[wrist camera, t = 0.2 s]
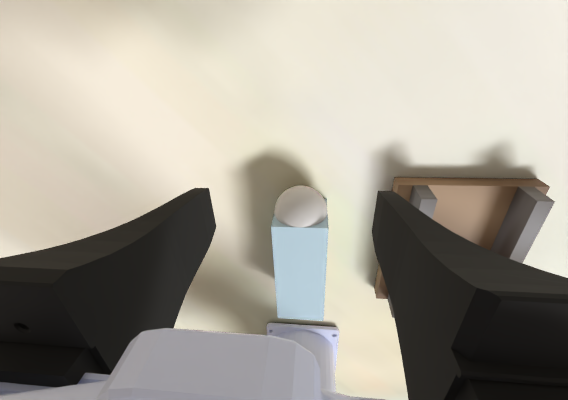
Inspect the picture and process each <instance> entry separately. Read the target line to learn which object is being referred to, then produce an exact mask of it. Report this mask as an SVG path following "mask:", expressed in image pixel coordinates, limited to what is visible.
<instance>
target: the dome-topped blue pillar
mask: <svg viewBox="0 0 568 400" xmlns="http://www.w3.org/2000/svg"><path fill="white" fill-rule="evenodd" d="M271 233H272V246H273V260H274V273H275V287H276V300H277V314H278V318H286V319H302V320H318V321H323V317H324V299H325V281H326V262H327V244H328V214H327V199H324V198H323V197H322V195H321V194H320V193H319V192H318V191H316V190H315V189H313V188H311V187H308V186H302V185H300V186H294V187H291V188H288V189H287V190H285V191H284V192H283V193H282V194H281V195H280V196H279V198H278V199H277V202H276V204H275V210H274V216H273V220H272V225H271Z"/></svg>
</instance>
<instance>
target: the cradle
mask: <svg viewBox="0 0 568 400" xmlns="http://www.w3.org/2000/svg"><path fill="white" fill-rule="evenodd" d="M549 188H550V187H549V186H548V185H546V184H545V183H543V182H542V181H540V180H539V179H493V178H402V177H394V183H393V188H392V191H394V192H396V193H397V194H399V195H400V196H401V197H403V198H404V199H405V200H407V201H408V202H409V203H411V204H412V205H413V206H415V207H416V208H417V209H419V210H420V211H421V212H423V213H424V214H426V215H427V216H429V217H430V218H431V219H433V220H434V221H436V222H438V223H439V224H441V225H442V226H444V227H445V228H447V229H449V230H450V231H452V232H454V233H456V234H458V235H459V236H461V237H463V238H465V239H467V240H469V241H471V242H473V243H475V244H477V245H479V246H481V247H483V248H486V249H488V250H490V251H492V252H495V253H497V254H499V255H502V256H504V257H507V258H509V259H512V260H514V261H517V262H520V263H523V261H524V259H525V257H526V255H527V253H528V251H529V250H530V248H531V246H532V244H533V242H534V240H535V238H536V236H537V234H538V233H539V231H540V229H541V227H542V225H543V223H544V221H545V219H546V217H547V216H548V214H549V212H550V210H551V208H552V206H553V204H554V202H555V201H553V200H552V199H550V198H549V197H548V196H546V193H547V191H548V189H549ZM374 289H375V294H376V298H381V299H388V302H389V306H390V310H391V314H392V317H394V312H393V307H392V304H391V300H390V296H389V293H388V290H387V287H386V284H385V281H384V278H383V274H382V271H381V268H380V265H378V271H377V276H376V282H375V287H374ZM394 318H395V317H394Z"/></svg>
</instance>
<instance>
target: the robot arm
mask: <svg viewBox="0 0 568 400" xmlns="http://www.w3.org/2000/svg"><path fill="white" fill-rule="evenodd" d="M215 229H216V223H215V218H214V213H213V208H212V203H211V197H210V192H209V188H194V189H192V190H190V191H188V192H186V193H184V194H182V195H180V196H178V197H176V198H175V199H173V200H171V201H169V202H167V203H165V204H164V205H162V206H160V207H158V208H156V209H154V210H152V211H150V212H148V213H146V214H144V215H142V216H140V217H139V218H136V219H134V220H132V221H130V222H128V223H125V224H123V225H120V226H118V227H116V228H113V229H110V230H108V231H105V232H102V233H99V234H96V235H93V236H90V237H87V238H84V239H81V240H78V241H74V242H71V243H67V244H64V245H60V246H56V247H52V248H48V249H44V250H39V251H34V252H30V253H25V254H20V255H15V256H10V257H5V258H0V400H384V399H373V398H362V397H350V396H347V395H343V394H340V393H336V384H335V369H336V359H337V349H338V339H339V329H338V328H337V327H328V326H313V325H298V324H282V323H268V324H267V327H266V329H267V335H258V334H244V333H230V332H216V331H201V330H187V329H173V328H174V325H175V322H176V319H177V316H178V313H179V311H180V308H181V305H182V303H183V300H184V297H185V295H186V293H187V290H188V288H189V286H190V284H191V282H192V280H193V278H194V276H195V274H196V272H197V270H198V268H199V266H200V264H201V262H202V261H203V259H204V257H205V255H206V253H207V251H208V248H209V246H210V244H211V241H212V238H213V235H214V232H215ZM372 235H373V241H374V247H375V252H376V256H377V259H378V262H379V265H380V268H381V271H382V274H383V278H384V281H385V284H386V287H387V290H388V293H389V296H390V300H391V304H392V307H393V312H394V317H395V322H396V327H397V332H398V338H399V343H400V349H401V354H402V360H403V367H404V373H405V379H406V385H407V392H408V399H409V400H568V278H565V277H562V276H559V275H555V274H552V273H549V272H545V271H542V270H539V269H537V268H534V267H531V266H528V265H525V264H522V263H520V262H517V261H514V260H512V259H509V258H507V257H504V256H502V255H499V254H497V253H495V252H492V251H490V250H488V249H486V248H483V247H481V246H479V245H477V244H475V243H473V242H471V241H469V240H467V239H465V238H463V237H461V236H459V235H458V234H456V233H454V232H452V231H450V230H449V229H447V228H445V227H444V226H442V225H441V224H439V223H438V222H436V221H434V220H433V219H431V218H430V217H429V216H427V215H426V214H424V213H423V212H421V211H420V210H419V209H417V208H416V207H415V206H413V205H412V204H411V203H409V202H408V201H407V200H405V199H404V198H403V197H401V196H400V195H399V194H397V193H396V192H394V191H378V194H377V201H376V208H375V214H374V221H373V228H372Z"/></svg>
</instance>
